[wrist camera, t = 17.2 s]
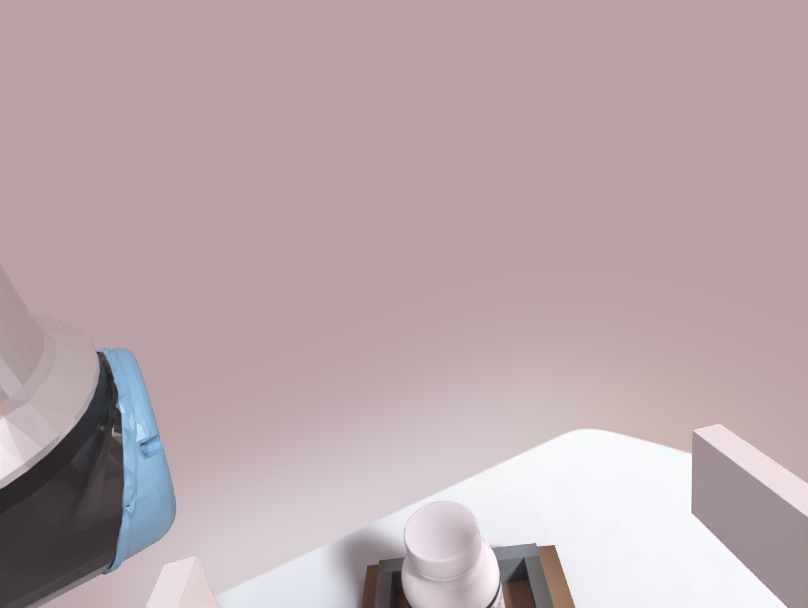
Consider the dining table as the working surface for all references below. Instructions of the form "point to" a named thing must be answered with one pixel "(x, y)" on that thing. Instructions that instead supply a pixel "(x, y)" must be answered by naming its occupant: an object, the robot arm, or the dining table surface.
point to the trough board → (519, 570)
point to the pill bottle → (449, 561)
